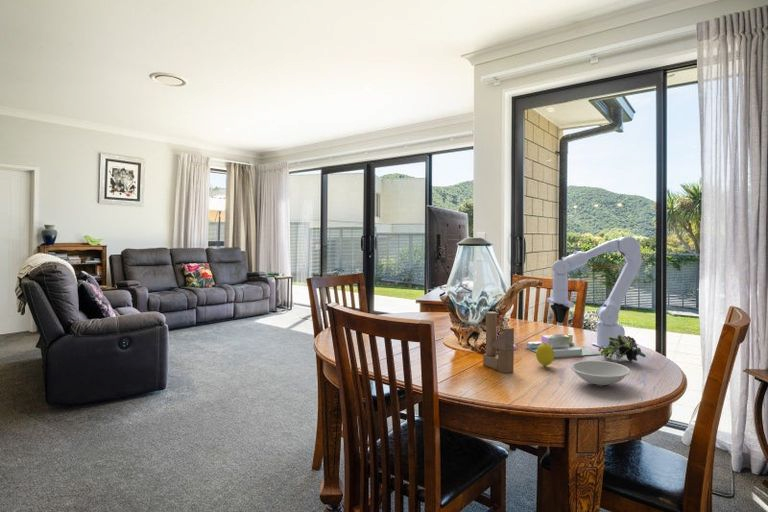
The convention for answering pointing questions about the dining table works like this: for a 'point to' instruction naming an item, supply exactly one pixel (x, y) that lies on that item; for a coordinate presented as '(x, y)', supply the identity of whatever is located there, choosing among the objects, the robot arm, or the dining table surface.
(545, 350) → the lemon
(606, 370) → the dish
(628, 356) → the green leafy plant
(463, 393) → the dining table surface
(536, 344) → the block
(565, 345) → the steel block
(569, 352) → the vise base
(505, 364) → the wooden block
